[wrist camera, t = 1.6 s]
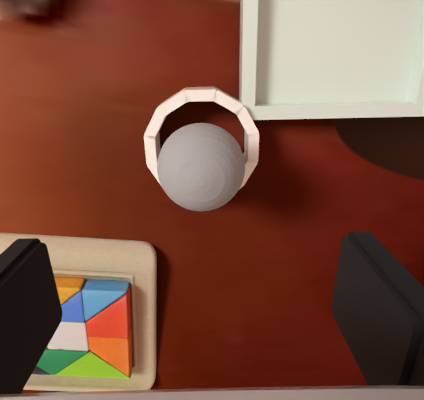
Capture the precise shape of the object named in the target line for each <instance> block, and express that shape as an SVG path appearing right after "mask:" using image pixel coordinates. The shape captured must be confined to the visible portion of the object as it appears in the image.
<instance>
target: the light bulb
mask: <svg viewBox="0 0 424 400" xmlns="http://www.w3.org/2000/svg"><path fill="white" fill-rule="evenodd" d="M157 173H158V178H159V181H160V184H161V186H162V188H163V189H164V191H165V192H166V194H167V195H168V196H169V197H170V198H171V199H172V200H173V201H174V202H175V203H177V204H178V205H180V206H182V207H184V208H186V209H189V210H194V211H209V210H213V209H216V208H219V207H221V206H223V205H224V204H226V203H227V202H229V201H230V200H231V199H232V198H233V197H234V195H235V194H236V193H237V192H238V190H239V188H240V187H241V185H242V182H243V179H244V174H245V162H244V157H243V154H242V151H241V148H240V146H239V144H238V143H237V141H236V140H235V138H234V137H233V136H232V135H231V134H230V133H228V132H227V131H226V130H224V129H222V128H220V127H218V126H216V125H212V124H208V123H194V124H189V125H186V126H184V127H181V128H180V129H178V130H176V131H175V132H174V133H172V134H171V135H170V136H169V137H168V139H167V140H166V141H165V143H164V144H163V146H162V148H161V151H160V154H159V157H158V162H157Z"/></svg>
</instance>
